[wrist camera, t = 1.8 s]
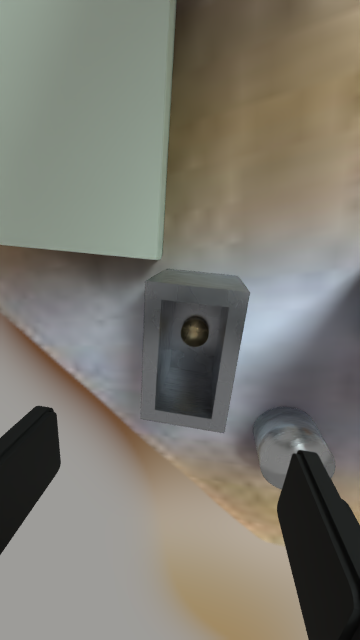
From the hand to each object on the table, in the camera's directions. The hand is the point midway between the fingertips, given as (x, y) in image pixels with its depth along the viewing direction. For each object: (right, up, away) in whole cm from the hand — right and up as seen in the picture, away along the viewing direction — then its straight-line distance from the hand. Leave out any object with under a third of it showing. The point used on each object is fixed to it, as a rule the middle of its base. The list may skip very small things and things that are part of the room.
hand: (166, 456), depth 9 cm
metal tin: (+11, -6, +14) cm, 19 cm away
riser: (-7, +21, +8) cm, 23 cm away
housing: (+2, +5, +12) cm, 13 cm away
